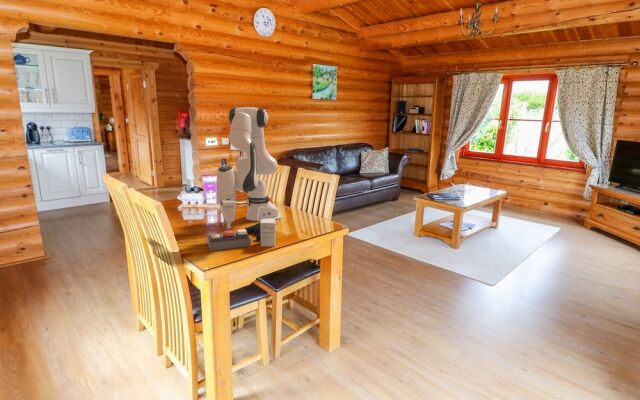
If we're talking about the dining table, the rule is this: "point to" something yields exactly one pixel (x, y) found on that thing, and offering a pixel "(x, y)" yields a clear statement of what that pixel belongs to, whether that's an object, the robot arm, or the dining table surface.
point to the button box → (228, 241)
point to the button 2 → (242, 231)
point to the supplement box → (267, 232)
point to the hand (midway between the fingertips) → (227, 225)
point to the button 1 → (215, 236)
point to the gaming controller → (255, 230)
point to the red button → (229, 233)
